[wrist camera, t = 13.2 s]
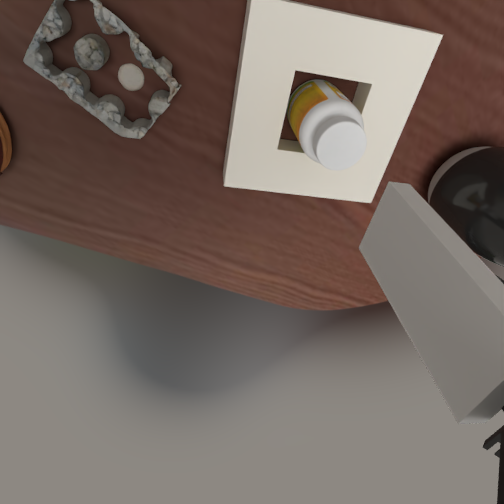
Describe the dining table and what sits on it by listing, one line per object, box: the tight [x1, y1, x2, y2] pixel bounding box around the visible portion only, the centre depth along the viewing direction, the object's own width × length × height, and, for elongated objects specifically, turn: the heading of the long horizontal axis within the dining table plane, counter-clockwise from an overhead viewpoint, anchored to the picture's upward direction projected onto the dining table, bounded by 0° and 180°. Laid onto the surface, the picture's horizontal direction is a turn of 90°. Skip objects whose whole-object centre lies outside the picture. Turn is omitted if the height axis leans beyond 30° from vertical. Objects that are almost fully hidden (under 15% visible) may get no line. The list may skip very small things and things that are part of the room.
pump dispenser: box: [428, 146, 504, 267], centre depth 36 cm, size 10×10×15 cm
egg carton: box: [23, 0, 181, 139], centre depth 31 cm, size 11×8×4 cm
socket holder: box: [223, 0, 443, 203], centre depth 35 cm, size 16×16×3 cm
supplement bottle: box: [287, 79, 367, 171], centre depth 32 cm, size 5×5×10 cm
